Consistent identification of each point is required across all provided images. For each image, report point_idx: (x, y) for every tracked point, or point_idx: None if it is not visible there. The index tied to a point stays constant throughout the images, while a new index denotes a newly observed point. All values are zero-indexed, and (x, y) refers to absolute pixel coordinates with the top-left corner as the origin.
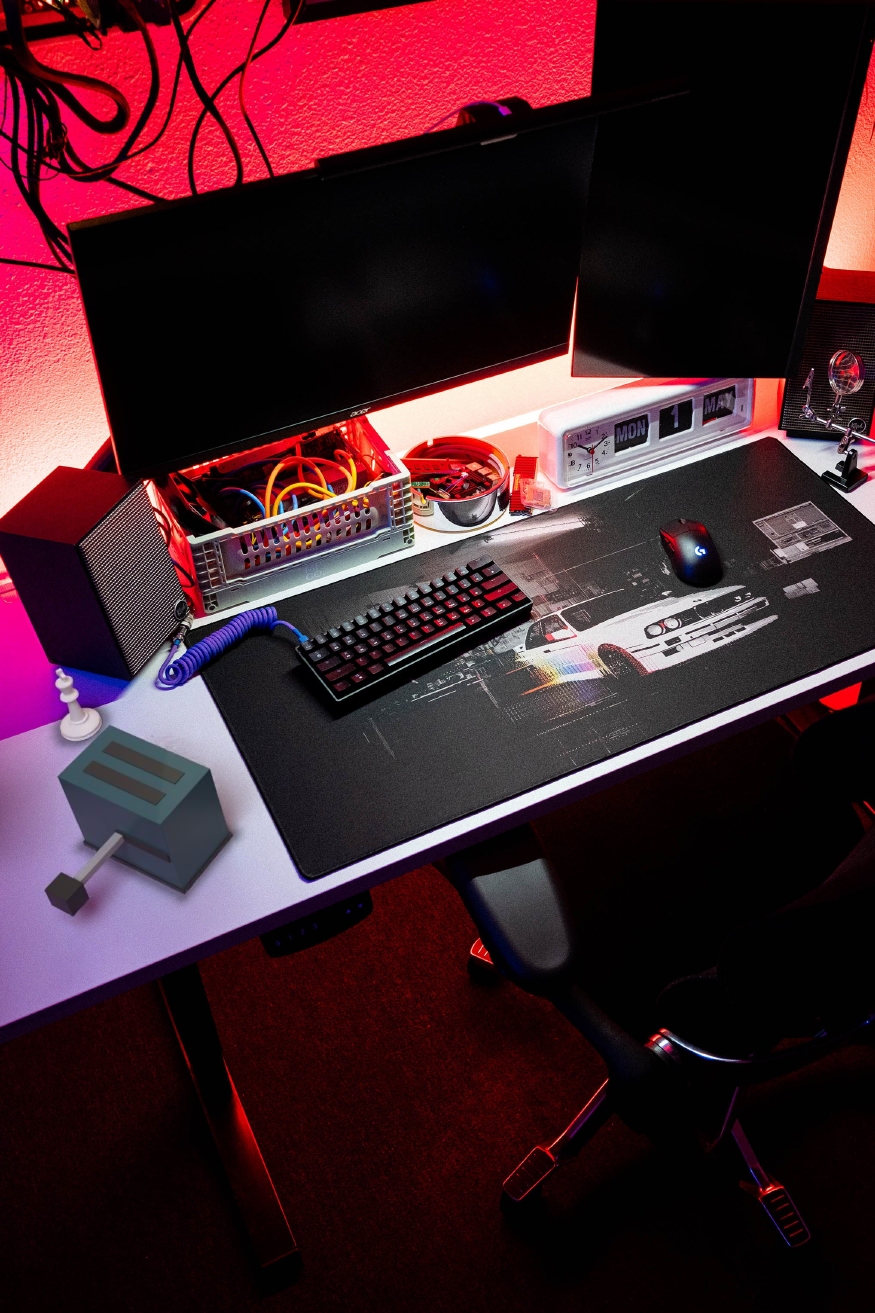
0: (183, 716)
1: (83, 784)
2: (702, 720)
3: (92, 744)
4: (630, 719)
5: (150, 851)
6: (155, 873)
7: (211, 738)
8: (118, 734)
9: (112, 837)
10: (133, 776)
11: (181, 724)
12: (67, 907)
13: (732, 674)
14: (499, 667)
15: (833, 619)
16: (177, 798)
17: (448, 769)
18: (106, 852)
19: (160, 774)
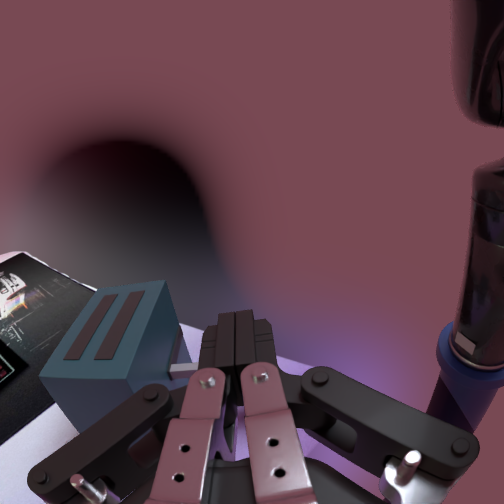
0: (16, 461)
1: (132, 347)
2: (53, 269)
3: (67, 375)
4: (48, 280)
5: (178, 344)
6: (187, 382)
7: (38, 430)
8: (53, 360)
9: (176, 369)
10: (112, 320)
11: (24, 459)
12: None
13: (33, 271)
14: (8, 320)
15: (16, 265)
16: (133, 286)
17: (70, 310)
18: (195, 363)
19: (107, 305)
